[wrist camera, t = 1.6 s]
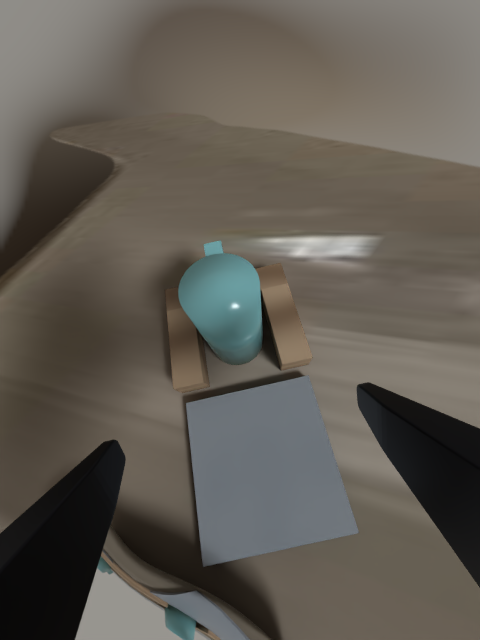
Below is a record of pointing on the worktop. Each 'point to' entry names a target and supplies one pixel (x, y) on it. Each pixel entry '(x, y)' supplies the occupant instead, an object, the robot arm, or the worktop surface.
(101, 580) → the beer glass
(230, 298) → the teal gourd with tab
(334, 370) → the worktop surface
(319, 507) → the coaster
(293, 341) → the bracket
